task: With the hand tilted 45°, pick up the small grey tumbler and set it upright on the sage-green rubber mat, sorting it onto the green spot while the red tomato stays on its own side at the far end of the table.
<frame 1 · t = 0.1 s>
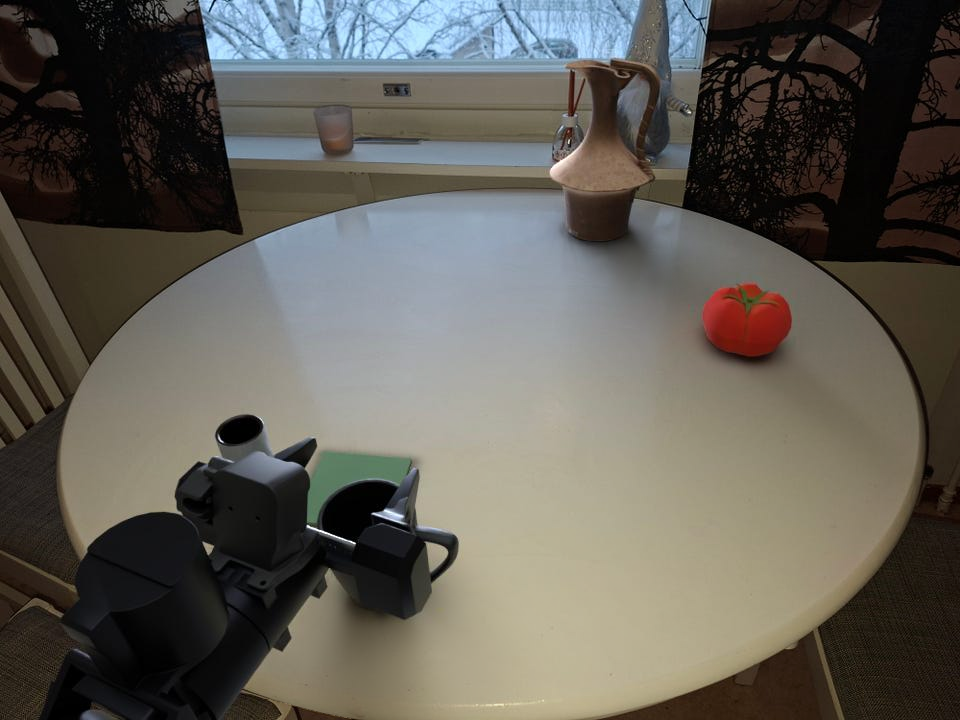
hand: (364, 456, 52), 16 cm above the table, tool horizontal, fingers open, 9 cm apart
green mat: (354, 490, 71), on the table
pitcher: (597, 229, 119), on the table
tomato: (739, 343, 91), on the table
mug: (398, 590, 62), on the table
grey tumbler: (263, 504, 71), on the table
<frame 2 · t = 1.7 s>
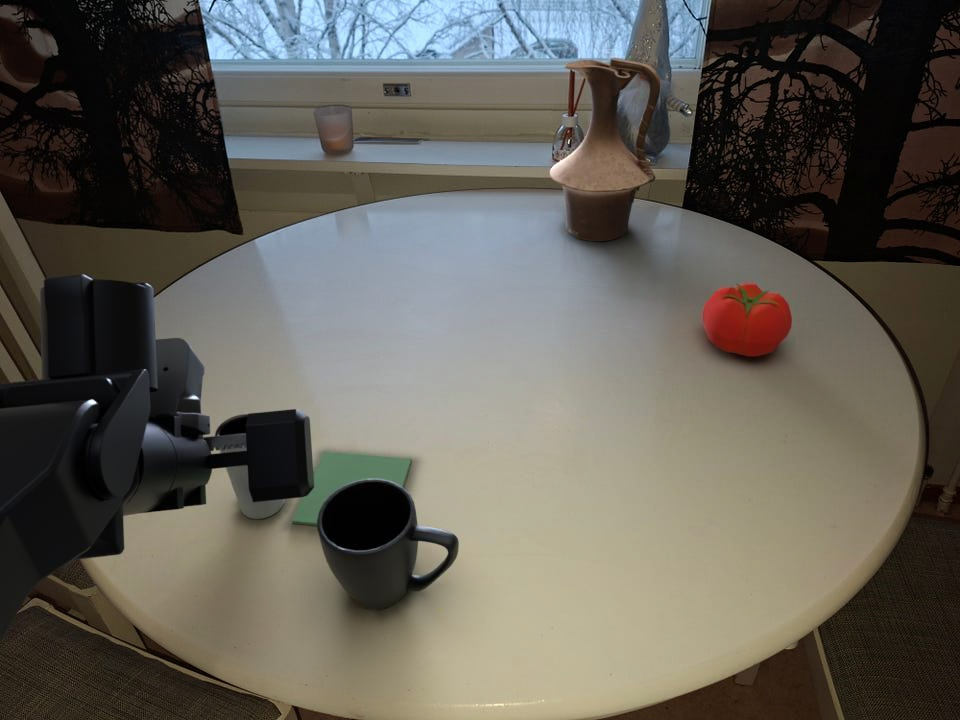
hand: (214, 464, 56), 14 cm above the table, tool tilted 45°, fingers open, 9 cm apart
nothing on the table moved.
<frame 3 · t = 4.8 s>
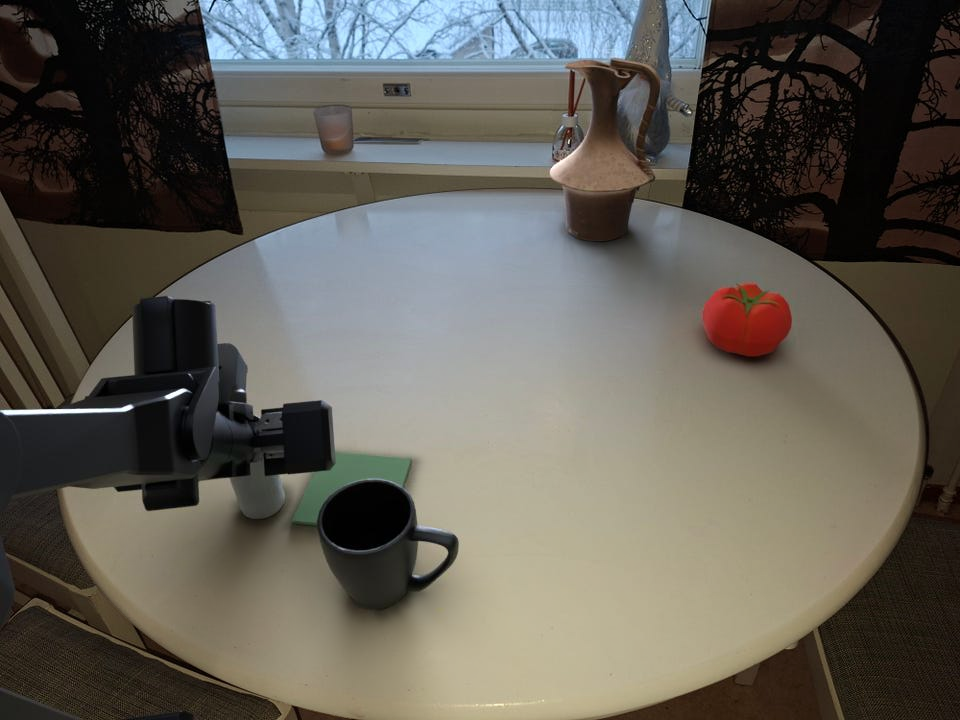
hand: (251, 447, 68), 7 cm above the table, tool tilted 45°, fingers closed on grey tumbler, 4 cm apart
grey tumbler: (263, 504, 71), on the table, touching gripper
everything else where it was.
when the fingers open (7 cm above the table, at t = 9.9 s): grey tumbler stays where it is, resting on green mat.
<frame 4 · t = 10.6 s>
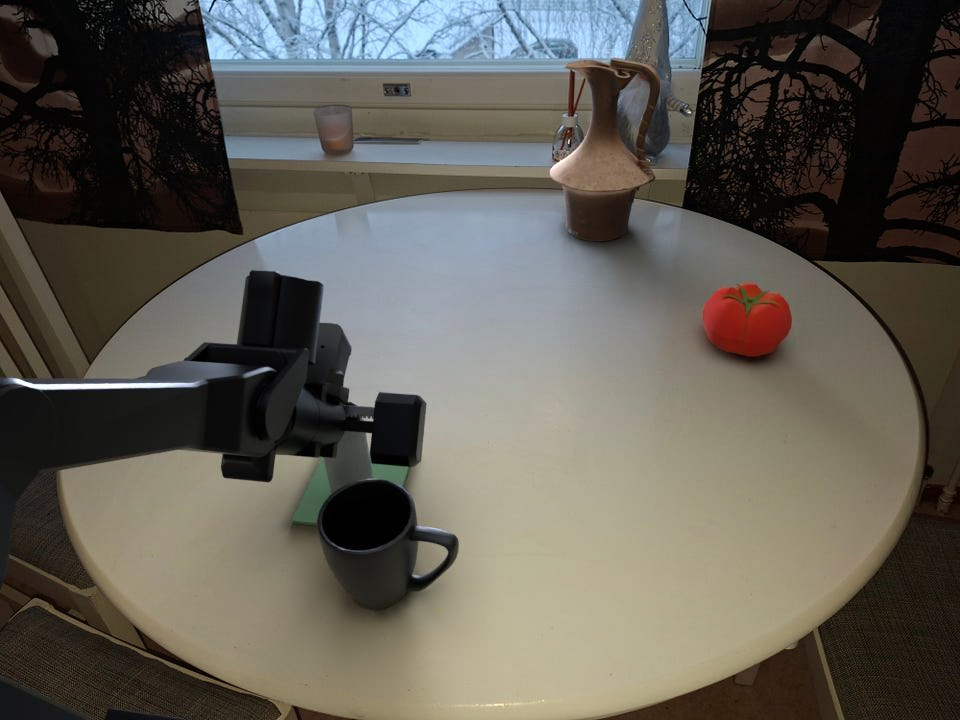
hand: (348, 427, 68), 8 cm above the table, tool tilted 45°, fingers open, 9 cm apart
grey tumbler: (353, 490, 71), resting on green mat
everything else where it was.
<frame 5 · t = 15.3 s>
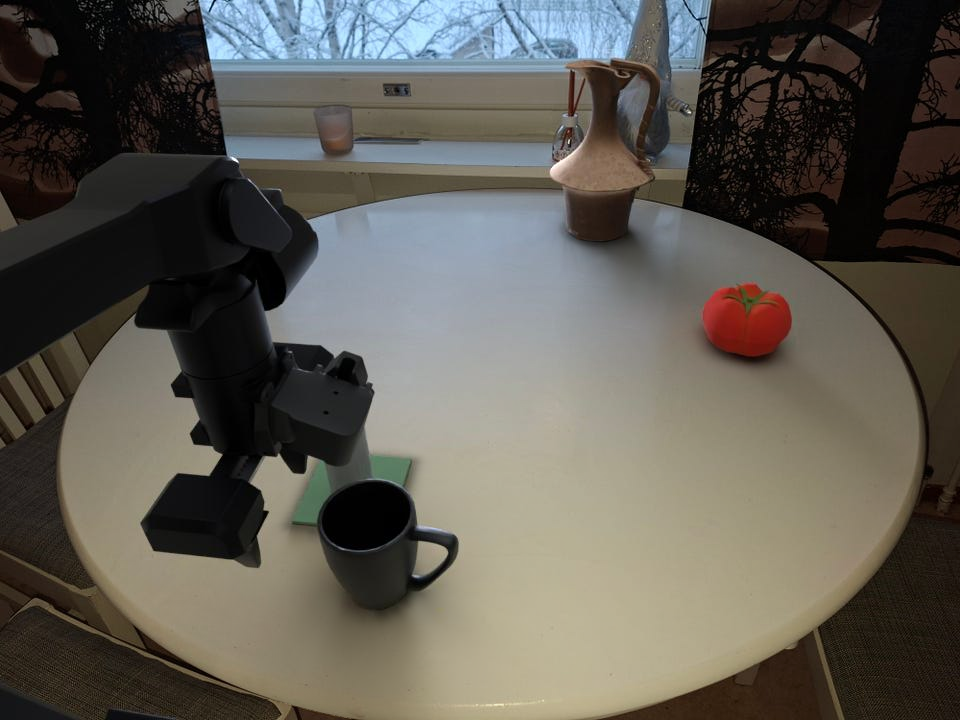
hand: (278, 515, 52), 13 cm above the table, tool pointing down, fingers open, 9 cm apart
nothing on the table moved.
at the end: grey tumbler inside the target area on the green mat (0.2 cm from its centre), point 0.2 cm above the green mat's base; grey tumbler tilted 0°; tomato moved 0.2 cm from its start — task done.
